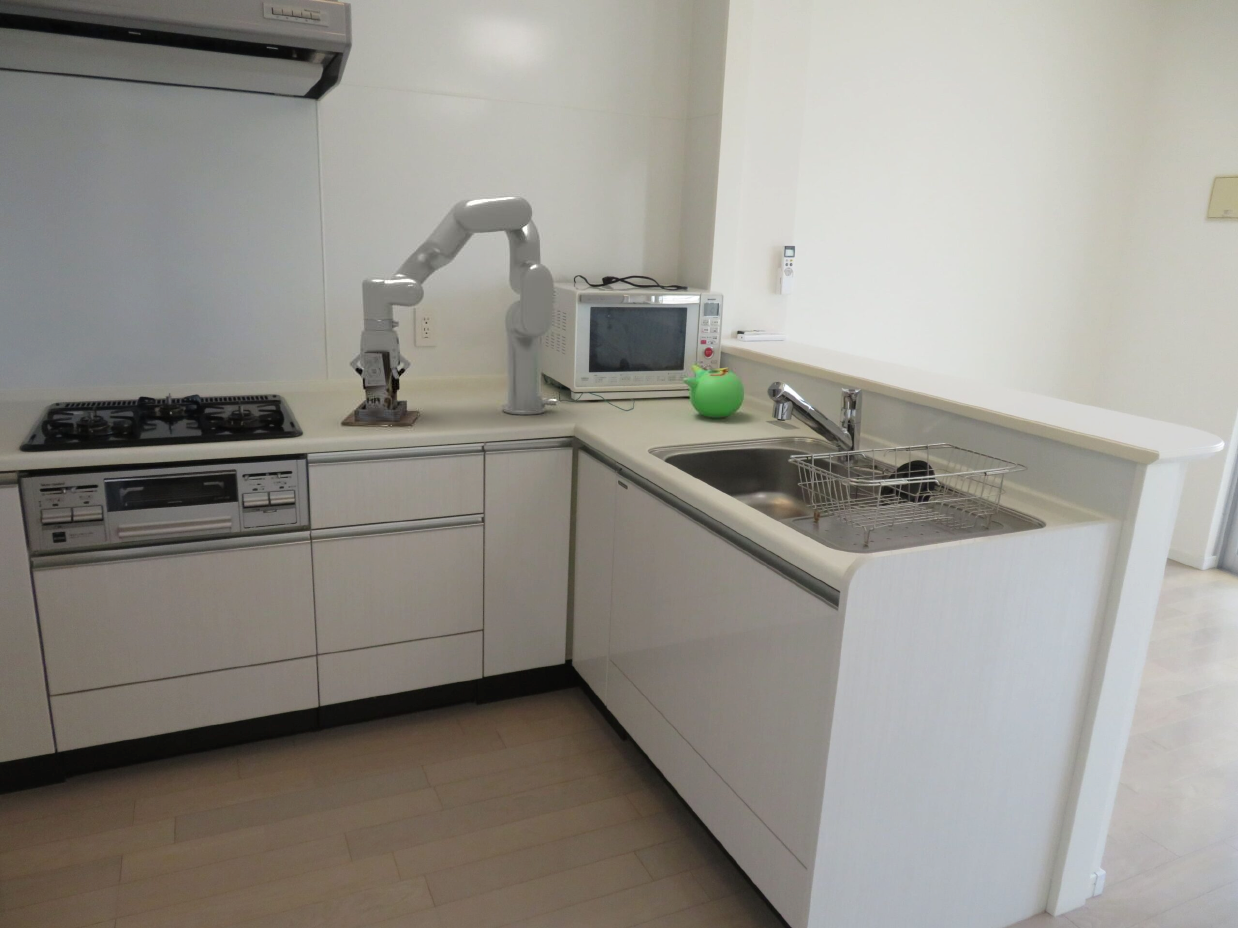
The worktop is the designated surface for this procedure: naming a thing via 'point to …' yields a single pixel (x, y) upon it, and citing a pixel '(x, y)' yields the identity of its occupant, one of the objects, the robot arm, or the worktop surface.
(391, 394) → the coffee box
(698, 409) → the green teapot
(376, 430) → the worktop surface
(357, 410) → the dock
